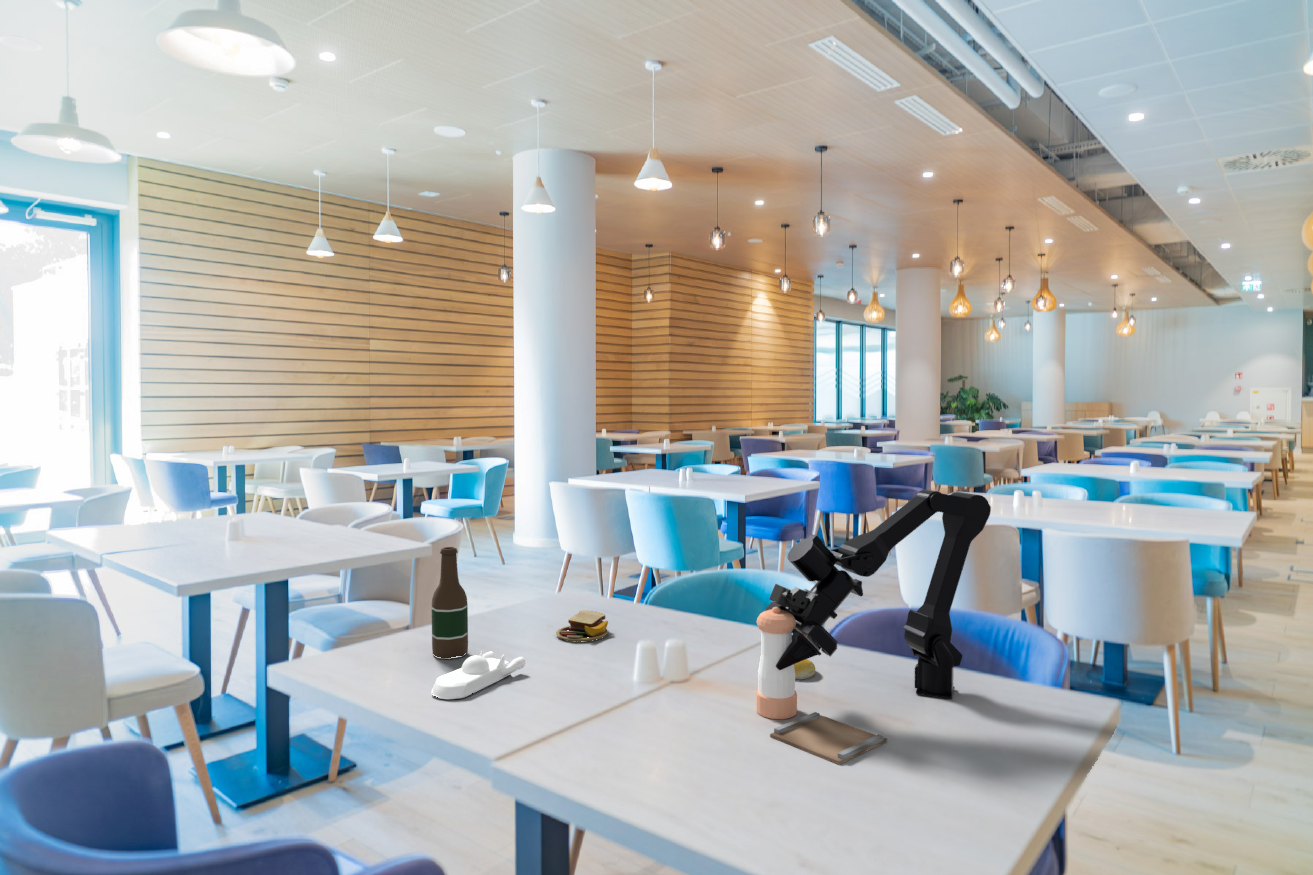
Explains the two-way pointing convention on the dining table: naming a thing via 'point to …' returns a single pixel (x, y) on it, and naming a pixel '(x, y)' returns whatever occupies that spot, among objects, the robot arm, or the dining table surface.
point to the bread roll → (804, 669)
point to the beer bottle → (449, 610)
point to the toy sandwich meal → (584, 627)
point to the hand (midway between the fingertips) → (769, 662)
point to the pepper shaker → (775, 684)
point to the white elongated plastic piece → (475, 675)
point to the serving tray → (827, 737)
